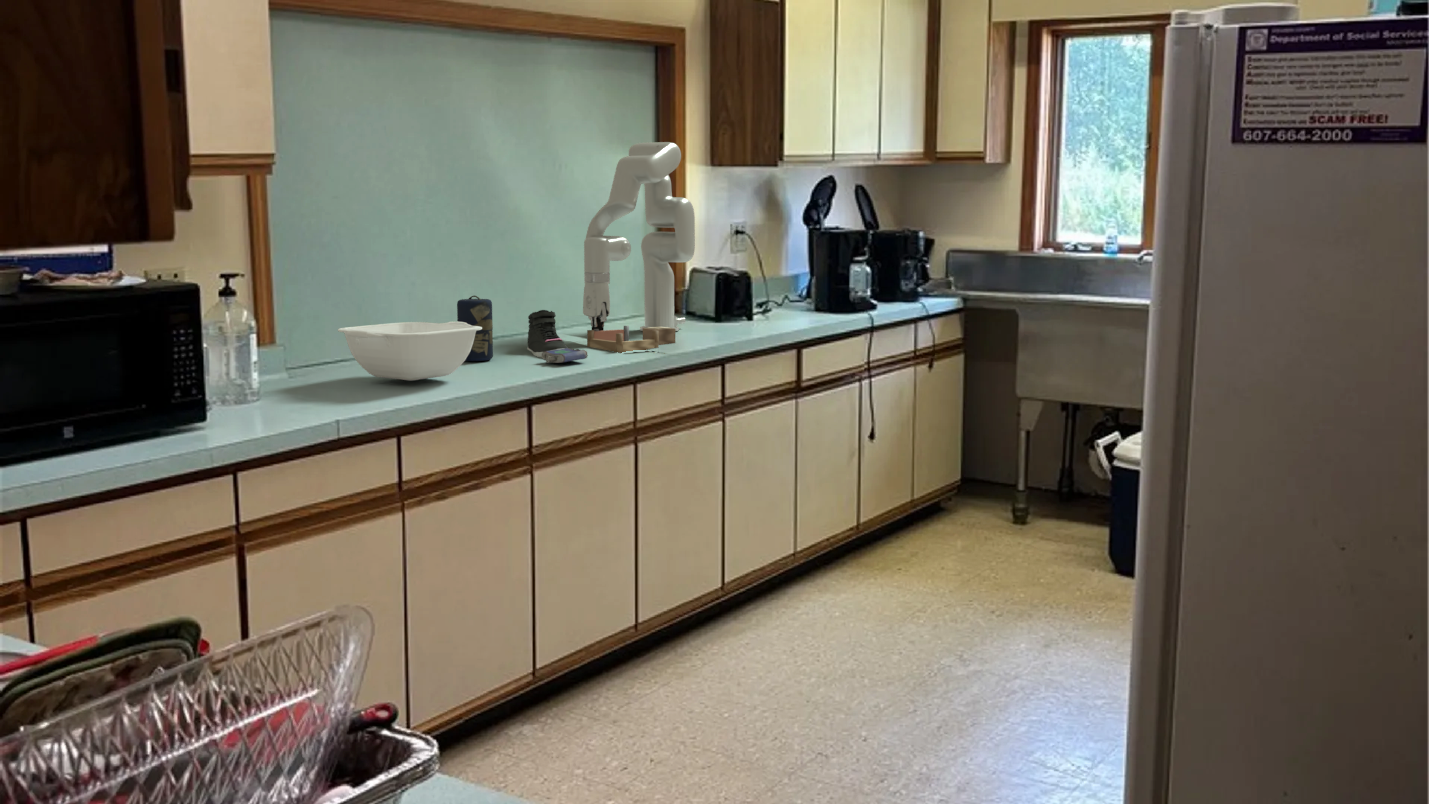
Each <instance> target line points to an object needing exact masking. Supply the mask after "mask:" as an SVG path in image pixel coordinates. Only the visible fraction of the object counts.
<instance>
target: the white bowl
mask: <svg viewBox="0 0 1429 804" xmlns="http://www.w3.org/2000/svg"><path fill="white" fill-rule="evenodd" d="M481 329H482V327H480V326H471V325H469V324H467V323H466V322H458V321H448V322H441V323H440V322H427V321H407V322H406V321H405V322H404V321H403V322H390V323H379V324H369V325H358V326H349V327H348V326H346V327H340V328H338V329H337V331H338V332H339V333H344V337H345V340H346V343H347V346H348V349H349V351H350V353H351V355H352V356H353V358H354V359H355V361H356V363H358V365H360V366H361V368H362V369H364V370H365V371H366V372H367V373H368V374H370V375H371V376H373V377H376V378H383V379H393V380H402V381H403V380H404V381H419V380H425V379H432V378H441V377H446V376H449V375H451V374H453V373H454V372H455V371H456V370H458V368H460V367H461V366H462V365H463V364H464V362H466V361H465V360H466V358H467V356H468V355H469V353H470V351H471V348H472V345H473V342H474V338H475V334H476V331H477V330H481Z"/></svg>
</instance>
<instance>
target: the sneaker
mask: <svg viewBox="0 0 1429 804" xmlns="http://www.w3.org/2000/svg"><path fill="white" fill-rule="evenodd" d="M527 319H528V322H527V323H528V332H527V348H526V350H527V351H529V352H530V353H532V354H533V356H534V357H536V356H537V358H542V353H543V352H545V351H552V350H559V349H565V348H569V347H568V345H567V344H566V343H565V342H564V340H563V339H562V338H560V336H559V335H558V334H557V333H558V332H557V330H556V313H555V311H553V310H550V311H549V310H547V309H540V310H538V311H532V313H530V314H529V315H528V317H527ZM542 359H543V358H542Z"/></svg>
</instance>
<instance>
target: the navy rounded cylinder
mask: <svg viewBox="0 0 1429 804" xmlns="http://www.w3.org/2000/svg"><path fill="white" fill-rule="evenodd" d="M456 303H457V304H456V311H457V313H456V315H457V322H466V323H467V324H469V325H471V326H480V327H482V329H481V330H477V331H476V334H475V338H474V342H473V345H472V348H471V351H470V353H469V355H468V356H467V358H466V360H465V361H464V362H475V363H476V362H481V361H482V362H483V361H484V362H485V361H489V360H492V359H493V357H494V341H493V339H494V338H493V334H494V333H493V328H494V326H493V325H494V324H493V303H492V300H491V299H489V298H480V297H479V296H477V295H472V296H470V297H469V298H464V299H463V298H462V299H459V300H458V301H457V302H456Z"/></svg>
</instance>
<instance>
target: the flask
mask: <svg viewBox="0 0 1429 804" xmlns="http://www.w3.org/2000/svg"><path fill="white" fill-rule="evenodd" d="M588 356H589V355H588V351H587V350H585V349H579V348H577V349H574V348H570V347H568V348H565V349H559V350H552V351H545V352H543V353H542V359H543V360H544V361H545V362H546V363H547V364H549V363H552V364H560V363H561V364H562V363H567V362H568V363H569V362H573V361H578V360H586V359H587V358H588Z"/></svg>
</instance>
